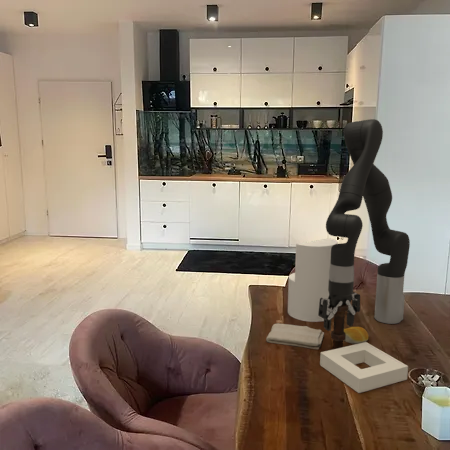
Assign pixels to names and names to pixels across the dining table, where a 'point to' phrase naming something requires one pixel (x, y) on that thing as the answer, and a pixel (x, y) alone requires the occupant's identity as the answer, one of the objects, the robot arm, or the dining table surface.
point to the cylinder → (310, 279)
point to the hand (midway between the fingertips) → (338, 327)
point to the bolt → (339, 327)
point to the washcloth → (295, 336)
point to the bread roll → (356, 335)
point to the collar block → (369, 377)
